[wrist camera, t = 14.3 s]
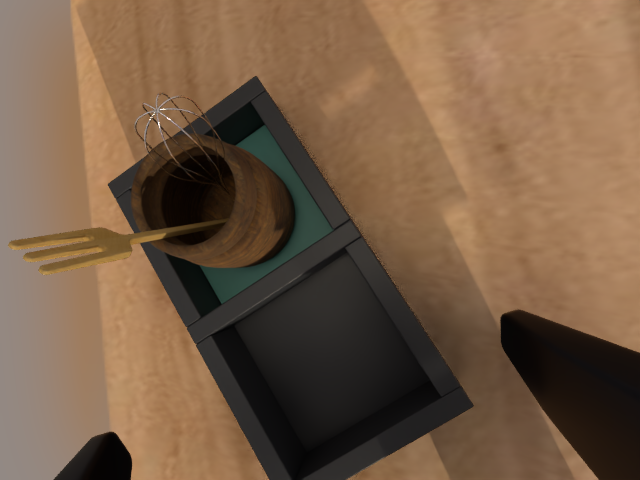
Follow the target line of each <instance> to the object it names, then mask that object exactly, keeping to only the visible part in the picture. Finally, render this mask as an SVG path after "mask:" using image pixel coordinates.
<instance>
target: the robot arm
mask: <svg viewBox="0 0 640 480" xmlns="http://www.w3.org/2000/svg"><path fill="white" fill-rule="evenodd" d="M500 321H501V344H502V347H503V349H504V351H505V353H506V354H507V356H508V358H509V359H510V361H511V362H512V364H513V365H514V367H515V368H516V370H517V371H518V373H519V374H520V376H521V377H522V379H523V380H524V382H525V383H526V385H527V387H528V388H529V390H530V391H531V393H532V394H533V396H534V397H535V399H536V400H537V402H538V403H539V405H540V406H541V408H542V409H543V410H544V412H545V413H546V414H547V416H548V417H549V418H550V419H551V421H552V422H553V423H554V424H555V426H556V427H557V428H558V429H559V431H560V432H561V433H562V434H563V436H564V437H565V438H566V439H567V441H568V442H569V443H570V444H571V446H572V447H573V448H574V449H575V451H576V452H577V453H578V454H579V456H580V457H581V458H582V459H583V461H584V462H585V463H586V464H587V465H588V467H589V468H590V469H591V470H592V472H593V473H594V474H595V475H596V477H597V478H598V479H599V480H640V353H639V352H636V351H633V350H630V349H628V348H625V347H622V346H619V345H617V344H614V343H611V342H608V341H606V340H603V339H600V338H597V337H594V336H592V335H589V334H586V333H583V332H581V331H578V330H575V329H572V328H570V327H567V326H564V325H561V324H559V323H556V322H553V321H550V320H548V319H545V318H542V317H539V316H536V315H534V314H531V313H528V312H525V311H523V310H514V311H511V312H507V313H504V314H503V315H502V316H501V320H500ZM131 471H132V459H131V455H130V453H129V452H128V450H127V449H126V447H125V446H124V444H123V443H122V441H121V440H120V439H119V437H118V436H117V434H116V433H114V432H108V433H104V434H101V435H97V436H95V437H93V438H91V439H90V440H89V441H88V442H87V443H86V445H85V446H84V447H83V448H82V449H81V450H80V451H79V452H78V453H77V454H76V455H75V457H74V458H73V459H72V460H71V461H70V462H69V463H68V464H67V465H66V467H65V468H64V469H63V470H62V471H61V472H60V473H59V474H58V476H57V477H55V479H54V480H131Z"/></svg>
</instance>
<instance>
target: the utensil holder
mask: <svg viewBox="0 0 640 480" xmlns="http://www.w3.org/2000/svg"><path fill="white" fill-rule="evenodd" d="M160 94H164V95H166V96H167V97H168V98H169V99H168V100H166V101H165V102H164V103H163V104H161V105H160V106H159V107H157V103H158V97H159V95H160ZM179 97H183V98H187V99H189V100H191V101H192V102H193V103H194V104H195V105H196V106H197V107H198V108H199V106H198V105H197V104H196V103H195V102H194V101H193V100H192V99H191V98H189V97H186V96H175V97H172V98H170V97H169V96H168V95H167V94H165V93H159V94H158V95H157V98H156V109H155V108H154V107H152V106H150V105H148V104H146V103H142V107H143V108H144V110H145V111H146V112H147V113H144V114H142V115H141V116H140V117H139V118H137V120H136V122H135V131H136V133H137V135H138V136H139V137H140V138H141V139H142V140H143V141H144V142H145V147H146V150H147V153H148V154H147V156H146V157H145V158H144V160H143V161H142V162H141V164H140V166H139V168H138V170H137V172H136V174H135V177H134V180H133V184H132V190H131V207H132V212H133V216H134V219H135V222H136V224H137V226H138V228H139V230H140V233H134V234H128V235H122V234H118V233H116V232H113V231H110V230H108V229H105V228H91V229H85V230H78V231H72V232H65V233H59V234H53V235H46V236H40V237H34V238H27V239H21V240H14V241H11V242H10V243H9V244H8V246H9V247H10V248H11V249H14V250H20V249H28V248H35V247H43V246H50V245H57V244H64V243H72V242H80V241H84V242H82V243H77V244H72V245H66V246H61V247H56V248H51V249H45V250H40V251H35V252H29V253H26V254H25V255H24V256H23V259H24V260H25V261H28V262H36V261H42V260H48V259H54V258H60V257H66V256H72V255H78V254H84V253H90V252H99V253H95V254H90V255H86V256H81V257H77V258H73V259H68V260H64V261H59V262H55V263H51V264H47V265H42V266H40V268H39V272H40V273H41V274H45V275H48V274H53V273H58V272H63V271H68V270H73V269H78V268H82V267H87V266H92V265H97V264H102V263H107V262H111V261H116V260H121V259H125V258H128V257H129V256H130V255H131V252H132V247H131V245H133V244H138V243H143V242H148V241H149V242H150V243H151V244H152V245H153V246H154V247H156V248H157V249H159V250H161V251H163V252H165V253H167V254H170V255H172V256H175V257H178V258H182V259H186V260H188V261H190V262H192V263H195V264H198V265H202V266H206V267H215V268H243V267H251V266H255V265H259V264H261V263H264V262H266V261H268V260H270V259H271V258H273V257H274V256H275V255H276V254H278V253H279V252H280V251H281V250H282V248H283V247H284V246H285V244H286V243H287V241H288V240H289V238H290V236H291V233H292V230H293V227H294V221H295V208H294V202H293V199H292V196H291V193H290V191H289V189H288V188H287V186H286V184H285V183H284V182H283V180H282V179H281V178H280V177H279V176H278V175H277V174H276V173H275V172H274V171H273V170H272V169H270V168H269V167H268V166H267V165H266V164H265V163H263V162H262V161H261V160H260V159H258V158H257V157H256V156H254V155H253V154H251V153H250V152H248V151H246V150H244V149H242V148H240V147H237V146H235V145H231V144H227V143H225V142H223V141H221V139H220V138H219V136H218V135H217V133H216V132H215V131H214V129H213V128H212V126H211V124H210V122H209V120H208V119H207V117H206V116H205V114H204V113H203V112H202V110H201V109H200V108H199V110H200V111H201V112H202V114H203V115H204V117H205V118H206V120H207V121H208V122H207V121H206V120H205V119H204V118H203V117H201V116H199V115H198V114H195V113H193V112H191V111H187V110H183V109H179V108H178V106H177V105H176V104H175V103H174V102H173V100H172V99H174V98H179ZM170 100H171V101H172V102H173V104H174V105H175V106H176V107H177V109H176V108H165V109H160V108H161V107H162V106H163V105H164V104H165V103H167V102H168V101H170ZM143 104H144V105H147V106H149V107H151V108H152V109H154V110H153V111H150V112H148V111H147V110H146V109H145V107H144V105H143ZM162 110H179V111H180V112H181V111H185V112H189V113H192V114H194V115H196V116H198V117H200V118H202V119H203V120H204V121H205V122H206V123H207V124H208V125H209V126H210V128H211V129H212V132H213V135H214V138H213V137H210V136H207V135H202V134H196V133H195V131H194V129H193V127H192V126H191V124H190V123H189V121H188V120H187V118H186V117H185V115H184V114H183V113H182V112H181V114H182V115H183V116H184V118H185V119H186V120H187V122H188V123H189V125H190V126H191V128H192V130H193V131H194V133H195V134H188V133H186V132H185V131H184V130H183V129H182V128H181V127H180V126H178V125H177V124H176V123H175V122H173V121H172V120H171V119H170V118H168V117H167V116H165V115H164V114H163V113H161V112H160V111H162ZM152 112H154V113H153V115H152V116H151V115H150V114H149V113H152ZM158 113H160V114H161V115H163V116H164V117H166V118H167V119H168V120H170V121H171V122H172V123H174V124H175V125H176V126H177V127H178V128H180V129H181V130H182V131H183V132H184V133H185V134H182V135H177V136H174V137H171V136H170V135H169V134H168V133H167V132H166V131H165V130H164V129H163V128H162V127H161V126H160V123H159V117H158ZM146 114H149V116H150V117H151V118H150V119H149V122H148V124H147V126H146V130H145V135H144V139H143V138H142V137H141V136H140V135H139V134H138V132H137V129H136V124H137V121H138V120H139V119H140V118H141V117H143V116H144V115H146ZM155 114H156V115H157V121H158V122H157V121H156V120H155V119H154V118H153V116H154V115H155ZM152 119H153V120H154V121H155V122H156V123H157V124H158V126H159V129H160V133H161V135H162V138H163V142H162V143H160V144H158V145H157V146H156V147H155V148H151V147H150V146H149V145H148V144H147V143H146V133H147V129H148V126H149V123H150V121H151V120H152ZM161 129H162V130H163V131H164V132H165V133H166V134H167V135H168V136H169V137H170V138H169V139H167V140H165V139H164V136H163V133H162V130H161ZM214 133H215V134H216V136H217V137H218V139H216V138H215V134H214ZM146 144H147V145H148V146H149V147H150V148H151V149H152V150H151V151H150V152H149V151H148V149H147V145H146Z"/></svg>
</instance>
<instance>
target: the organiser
mask: <svg viewBox="0 0 640 480" xmlns="http://www.w3.org/2000/svg"><path fill="white" fill-rule="evenodd" d="M204 114H205V116H206V117H207V119H208V120H209V122H210V124H211V126H212V128H213V129H214V131H215V132H216V133H217V135H218V136H219V138H220V139H221V141H223V142H225V143H227V144H231V145H235V146H237V147H240V148H242V149H244V150H246V151H248V152H250V153H251V154H253V155H254V156H256V157H257V158H258V159H260V160H261V161H262V162H263V163H265V164H266V165H267V166H268V167H269V168H270V169H272V170H273V171H274V172H275V173H276V174H277V175H278V176H279V177H280V178H281V179H282V180H283V182H284V183H285V184H286V186H287V188H288V189H289V191H290V193H291V196H292V199H293V202H294V208H295V221H294V227H293V230H292V233H291V236H290V238H289V240H288V241H287V243H286V244H285V246H284V247H283V248H282V250H281V251H280V252H279V253H278V254H276V255H275V256H274V257H273V258H271V259H270V260H268V261H266V262H264V263H261V264H259V265H255V266H251V267H243V268H215V267H206V266H202V265H198V264H195V263H192V262H190V261H188V260H186V259H182V258H178V257H175V256H172V255H170V254H167V253H165V252H163V251H161V250H159V249H157V248H156V247H154V246H153V245H152V244H151V243H150V242H149V241H148V242H143V243H140V244H141V246H142V248H143V250H144V252H145V253H146V255H147V257H148V259H149V261H150V262H151V264H152V266H153V268H154V270H155V272H156V273H157V275H158V277H159V279H160V281H161V283H162V284H163V286H164V288H165V290H166V292H167V293H168V295H169V297H170V299H171V301H172V303H173V304H174V306H175V308H176V310H177V312H178V314H179V315H180V317H181V319H182V321H183V323H184V324H185V326H186V327H187V330H188V332H189V333H190V335H191V337H192V339H193V341H194V343H195V344H197V345H196V347H197V348H198V350H199V352H200V354H201V356H202V357H203V359H204V361H205V363H206V365H207V367H208V368H209V370H210V372H211V374H212V376H213V378H214V379H215V381H216V383H217V385H218V387H219V388H220V390H221V392H222V394H223V396H224V398H225V399H226V401H227V403H228V405H229V407H230V409H231V410H232V412H233V414H234V416H235V418H236V419H237V421H238V423H239V425H240V427H241V429H242V430H243V432H244V434H245V436H246V438H247V440H248V441H249V443H250V445H251V447H252V449H253V450H254V452H255V454H256V456H257V458H258V460H259V461H260V463H261V465H262V467H263V469H264V471H265V472H266V474H267V476H268V478H269V480H346V479H348V478H350V477H352V476H353V475H355V474H357V473H359V472H360V471H362V470H364V469H366V468H367V467H369V466H371V465H373V464H374V463H376V462H378V461H380V460H381V459H383V458H385V457H387V456H388V455H390V454H392V453H393V452H395V451H397V450H399V449H400V448H402V447H404V446H406V445H407V444H409V443H411V442H413V441H414V440H416V439H418V438H420V437H421V436H423V435H425V434H427V433H428V432H430V431H432V430H434V429H435V428H437V427H439V426H441V425H442V424H444V423H446V422H448V421H449V420H451V419H453V418H455V417H456V416H458V415H460V414H461V413H463V412H465V411H467V410H468V409H470V408H472V407H473V404H472V402H471V401H470V399H469V397H468V396H467V394H466V393H465V391H464V390H463V388H462V386H461V385H460V383H459V382H458V380H457V379H456V377H455V376H454V374H453V373H452V371H451V370H450V368H449V367H448V365H447V364H446V362H445V360H444V359H443V357H442V356H441V354H440V353H439V351H438V350H437V348H436V347H435V345H434V344H433V342H432V341H431V339H430V338H429V336H428V335H427V333H426V332H425V330H424V329H423V327H422V326H421V324H420V323H419V321H418V319H417V318H416V316H415V315H414V313H413V312H412V310H411V309H410V307H409V306H408V304H407V303H406V301H405V300H404V298H403V297H402V295H401V294H400V292H399V291H398V289H397V288H396V286H395V285H394V283H393V282H392V280H391V279H390V277H389V275H388V274H387V272H386V271H385V269H384V268H383V266H382V265H381V263H380V262H379V260H378V259H377V257H376V256H375V254H374V253H373V251H372V250H371V248H370V247H369V245H368V244H367V242H366V241H365V239H364V238H363V236H362V234H361V233H360V231H359V230H358V228H357V227H356V225H355V224H354V222H353V221H352V219H351V218H350V216H349V215H348V213H347V212H346V210H345V209H344V207H343V206H342V204H341V203H340V201H339V200H338V198H337V197H336V195H335V194H334V192H333V190H332V189H331V187H330V186H329V184H328V183H327V181H326V180H325V178H324V177H323V175H322V174H321V172H320V171H319V169H318V168H317V166H316V165H315V163H314V162H313V160H312V159H311V157H310V156H309V154H308V153H307V151H306V150H305V148H304V146H303V145H302V143H301V142H300V140H299V139H298V137H297V136H296V134H295V133H294V131H293V130H292V128H291V127H290V125H289V124H288V122H287V121H286V119H285V118H284V116H283V115H282V113H281V112H280V110H279V109H278V107H277V105H276V104H275V103H274V101H273V100H272V98H271V97H270V95H269V94H268V92H267V91H266V89H265V88H264V86H263V85H262V83H261V82H260V80H259V79H258V77H257V76H255V77H253V78H252V79H251V80H249V81H248V82H247V83H245V84H244V85H242V86H241V87H240V88H238V89H237V90H236V91H234V92H233V93H232V94H230V95H229V96H227V97H226V98H225V99H223V100H222V101H221V102H219V103H218V104H217V105H215V106H214V107H212V108H211V109H210V110H208V111H207V112H206V113H204ZM201 117H203V118H204V119H205V120H206V118H205V117H204V115H201ZM206 121H207V120H206ZM207 122H208V121H207ZM191 126H192V127H193V129H194V131H195V133H196V134H202V135H207V136H210V137H213V138H214V135H213V132H212V129H211V128H210V126H209V125H208V124H207V123H206V122H205V121H204V120H203V119H202V118H200V117H199V118H197V119H196V120H195V121H193V122H192V123H191ZM191 126H190V125H188V126H186V127H185V128H184V129H183V130H184V131H185V132H186V133H188V134H195V133H194V131H193V130H192V128H191ZM182 134H185V133H184V132H183V131H182V130H181V131H180V132H178V133H177V134H176V135H174V136H177V135H182ZM214 134H215V133H214ZM174 136H173V137H174ZM215 138H216V139H218V137H217V136H216V134H215ZM145 157H146V156H145ZM145 157H144V158H145ZM144 158H143V159H141V160H140V161H139V162H137V163H136V164H135V165H133V166H132V167H130V168H129V169H128V170H126V171H125V172H124V173H122V174H121V175H119V176H118V177H117V178H115V179H114V180H113V181H111V182H110V183H109V184H108V186H109V188H110V190H111V192H112V193H113V195H114V197H115V198H116V200H117V202H118V204H119V206H120V208H121V210H122V211H123V213H124V215H125V217H126V219H127V221H128V222H129V224H130V226H131V228H132V230H133V231H134V233H140V230H139V228H138V226H137V224H136V222H135V219H134V216H133V212H132V207H131V190H132V184H133V180H134V177H135V174H136V172H137V170H138V168H139V166H140V164H141V162H142V161H143V160H144Z"/></svg>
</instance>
